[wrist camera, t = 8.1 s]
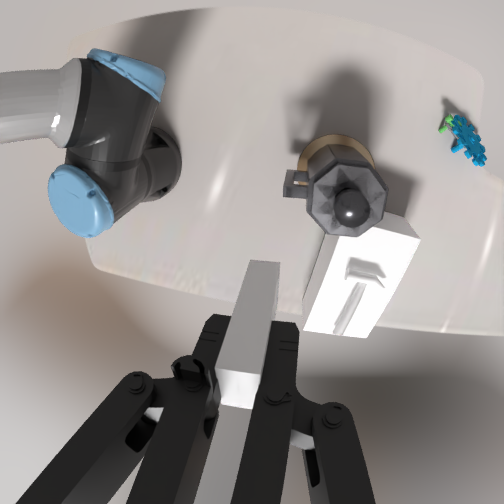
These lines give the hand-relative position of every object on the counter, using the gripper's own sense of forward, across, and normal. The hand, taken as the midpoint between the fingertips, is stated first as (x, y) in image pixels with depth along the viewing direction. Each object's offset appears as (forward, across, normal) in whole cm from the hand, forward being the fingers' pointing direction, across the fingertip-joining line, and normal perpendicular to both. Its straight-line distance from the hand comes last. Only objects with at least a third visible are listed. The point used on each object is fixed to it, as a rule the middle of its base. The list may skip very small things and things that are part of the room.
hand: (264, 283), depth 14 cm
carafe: (+36, +6, -3) cm, 37 cm away
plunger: (+33, +8, -3) cm, 34 cm away
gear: (+37, +32, +8) cm, 49 cm away
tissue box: (+37, +14, -21) cm, 44 cm away
